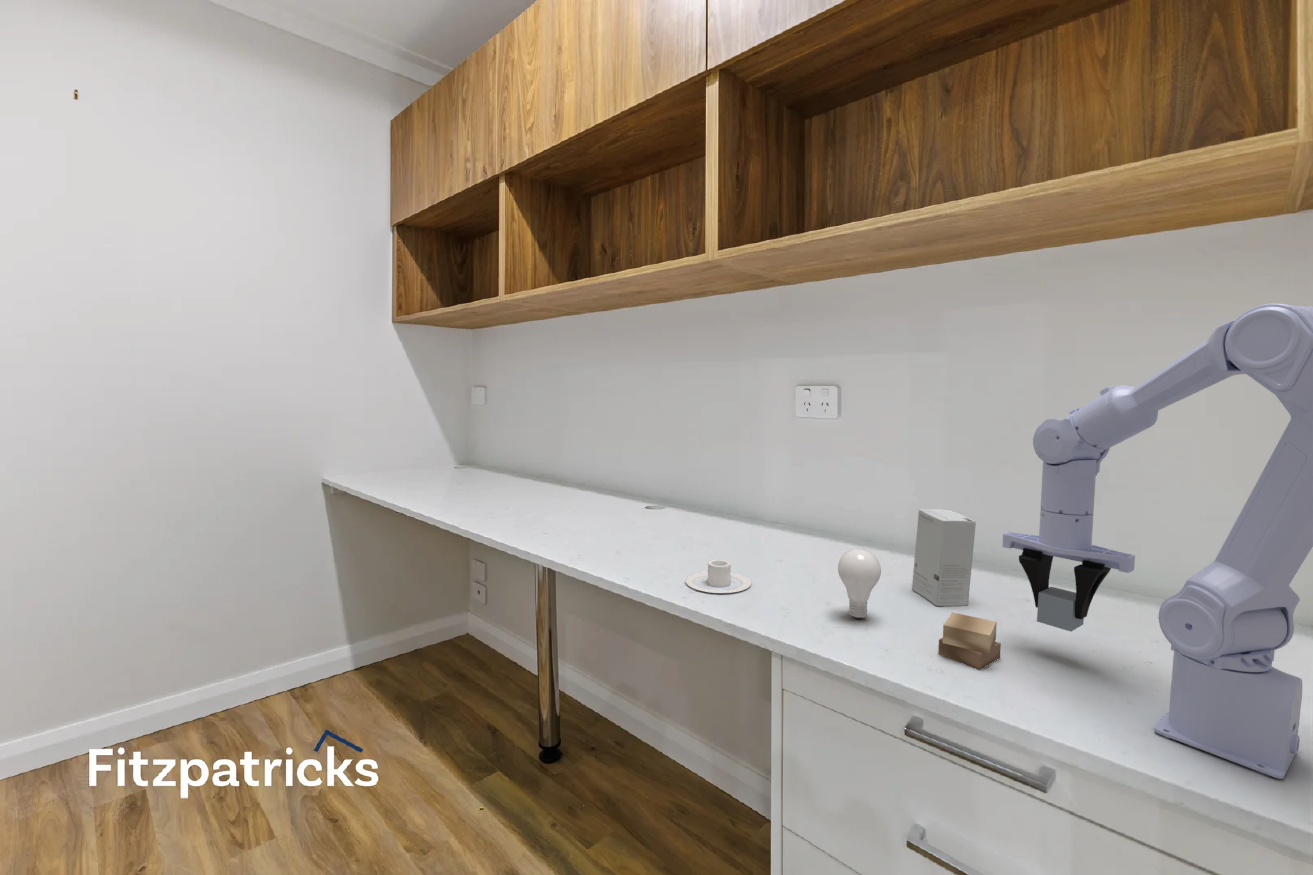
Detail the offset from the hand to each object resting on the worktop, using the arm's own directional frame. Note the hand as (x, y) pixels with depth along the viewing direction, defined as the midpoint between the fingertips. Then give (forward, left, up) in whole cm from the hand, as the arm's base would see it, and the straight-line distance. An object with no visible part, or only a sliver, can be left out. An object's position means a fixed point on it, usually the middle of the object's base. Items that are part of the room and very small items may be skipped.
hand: (1060, 611), depth 79 cm
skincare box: (+21, -9, -7) cm, 24 cm away
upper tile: (+7, +9, -4) cm, 12 cm away
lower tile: (+7, +9, -7) cm, 13 cm away
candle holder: (+49, +17, -7) cm, 52 cm away
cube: (0, 0, -2) cm, 2 cm away
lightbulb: (+24, +10, -7) cm, 27 cm away
